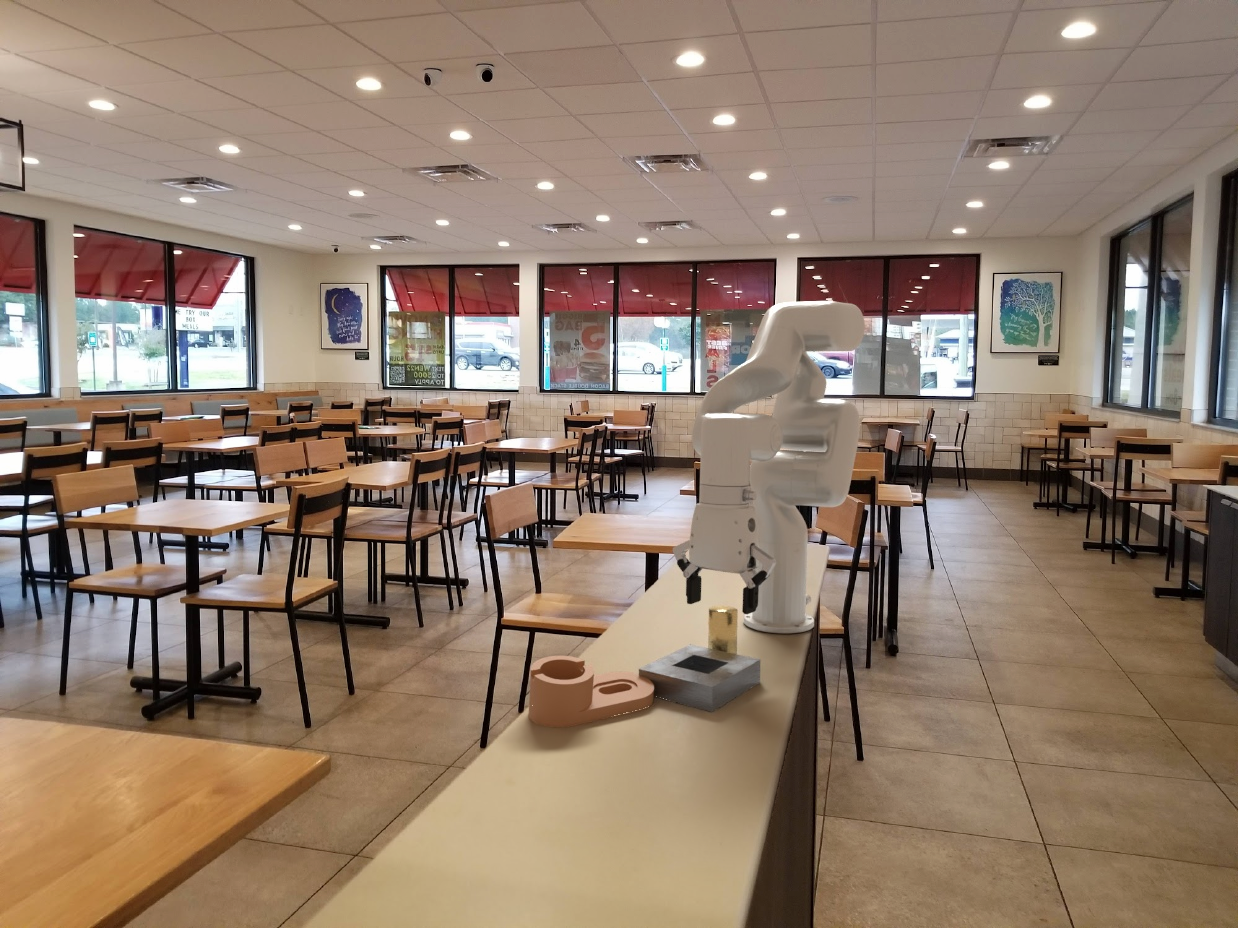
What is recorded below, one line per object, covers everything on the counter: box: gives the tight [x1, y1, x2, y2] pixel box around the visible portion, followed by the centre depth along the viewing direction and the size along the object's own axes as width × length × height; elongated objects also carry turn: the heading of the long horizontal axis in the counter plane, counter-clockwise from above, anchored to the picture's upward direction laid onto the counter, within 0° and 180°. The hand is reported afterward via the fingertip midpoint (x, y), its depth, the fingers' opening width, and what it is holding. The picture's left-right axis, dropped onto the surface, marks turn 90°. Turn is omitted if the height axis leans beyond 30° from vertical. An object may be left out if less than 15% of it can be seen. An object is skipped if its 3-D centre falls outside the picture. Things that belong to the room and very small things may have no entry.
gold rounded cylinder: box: [707, 605, 738, 654], centre depth 135 cm, size 4×4×9 cm
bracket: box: [528, 655, 654, 728], centre depth 118 cm, size 18×8×7 cm, turn 120°
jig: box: [638, 644, 761, 713], centre depth 126 cm, size 14×12×4 cm
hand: (721, 607), depth 134 cm, fingers open, 9 cm apart
